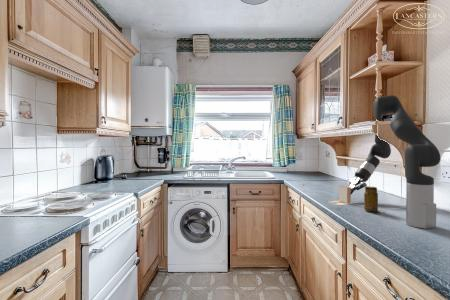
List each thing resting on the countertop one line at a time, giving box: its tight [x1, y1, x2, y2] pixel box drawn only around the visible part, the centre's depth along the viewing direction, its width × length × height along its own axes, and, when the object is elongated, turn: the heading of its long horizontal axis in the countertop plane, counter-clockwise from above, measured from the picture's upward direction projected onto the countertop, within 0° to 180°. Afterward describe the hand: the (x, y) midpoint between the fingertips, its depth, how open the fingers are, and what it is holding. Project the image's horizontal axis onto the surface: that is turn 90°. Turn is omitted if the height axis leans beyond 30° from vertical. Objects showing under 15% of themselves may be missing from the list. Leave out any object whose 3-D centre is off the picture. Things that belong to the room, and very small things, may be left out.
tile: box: [338, 185, 352, 205], centre depth 155 cm, size 7×2×9 cm, turn 19°
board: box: [329, 200, 353, 206], centre depth 155 cm, size 9×9×1 cm
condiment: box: [363, 186, 385, 215], centre depth 136 cm, size 7×8×12 cm
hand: (348, 193), depth 156 cm, fingers closed
